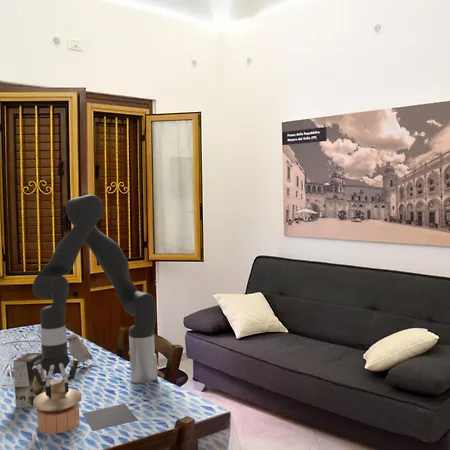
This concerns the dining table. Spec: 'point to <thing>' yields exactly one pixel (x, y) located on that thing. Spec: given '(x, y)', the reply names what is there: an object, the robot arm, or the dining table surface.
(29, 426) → the dining table surface
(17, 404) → the coffee box
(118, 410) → the rubber mat
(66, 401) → the oak lid
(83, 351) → the bird
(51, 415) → the terracotta bowl
